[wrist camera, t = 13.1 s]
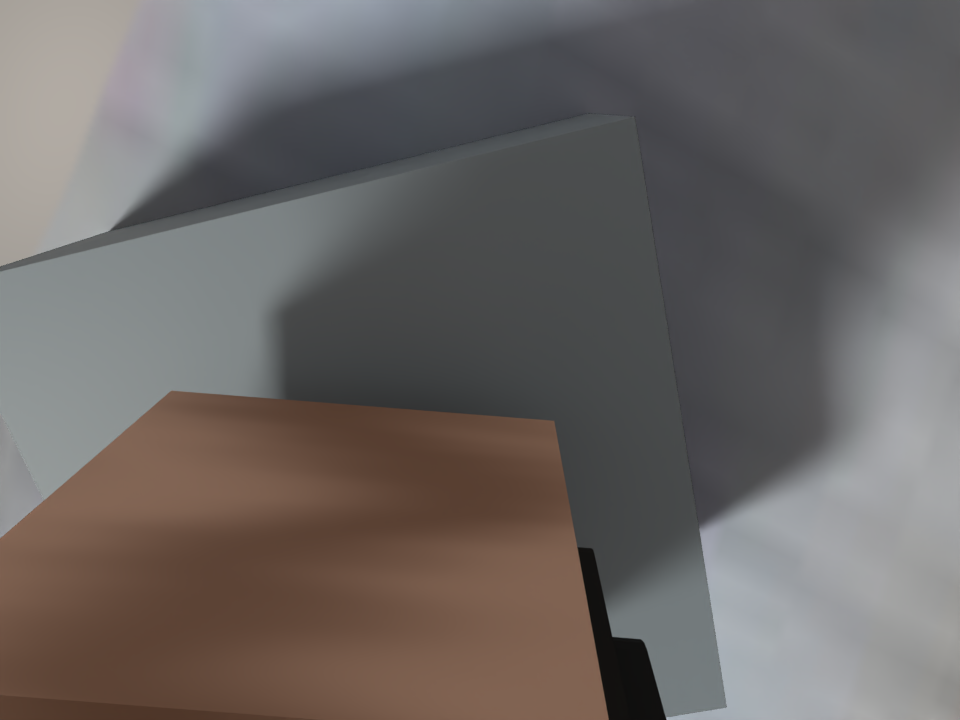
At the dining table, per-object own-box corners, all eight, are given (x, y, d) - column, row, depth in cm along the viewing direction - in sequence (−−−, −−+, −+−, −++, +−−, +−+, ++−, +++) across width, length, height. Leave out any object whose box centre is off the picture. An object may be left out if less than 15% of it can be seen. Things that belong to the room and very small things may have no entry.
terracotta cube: (554, 420, 11) (612, 742, 6) (518, 717, 13) (534, 1175, 8) (171, 390, 11) (-167, 681, 5) (193, 691, 13) (-37, 1133, 7)
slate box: (587, 112, 17) (634, 117, 11) (663, 542, 21) (726, 706, 15) (114, 229, 18) (-63, 286, 12) (269, 614, 22) (190, 793, 16)
